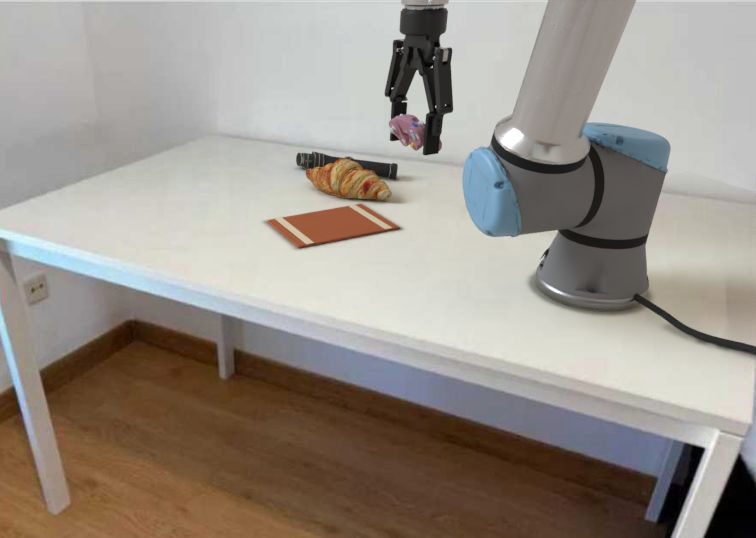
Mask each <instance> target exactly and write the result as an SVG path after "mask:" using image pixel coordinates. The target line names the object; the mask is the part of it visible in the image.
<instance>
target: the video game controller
mask: <svg viewBox="0 0 756 538" xmlns="http://www.w3.org/2000/svg"><path fill="white" fill-rule="evenodd" d="M388 127H389V131H390V132H391V133H392V134H394V135H395V136H397V137H398V139H399V140H398V141H399V142H400V143H401V144H402V146H403V147H408V146H410V148H412V149H413V150H414V151H416V152H417V151H419V150H420V149H421V148H423V144H424V133H425V122H424V121H423V120H420V119H419V118H418V117H417V116H415V115H413V114H410V113H409V114H408V113H407V114H404V115H403V114H400V115H399V116H396V117H395V118H393V119H392V120H391V119H390V120H389V121H388ZM390 132H389V133H390ZM442 148H443V143H442V141H441V139H440V142H439V152H440V151H441V150H442Z"/></svg>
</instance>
